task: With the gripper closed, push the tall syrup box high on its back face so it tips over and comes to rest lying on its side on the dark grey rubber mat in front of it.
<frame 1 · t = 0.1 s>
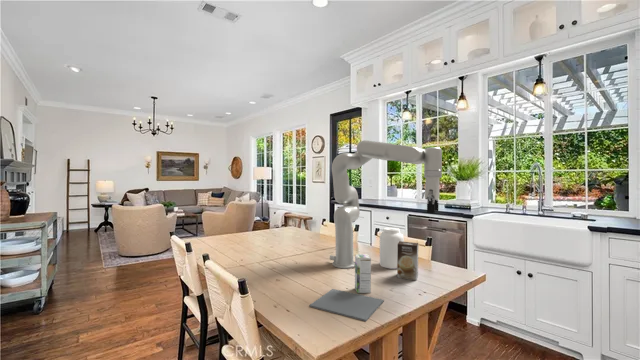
hand: (432, 212, 135), 31 cm above the table, tool pointing down, fingers open, 9 cm apart
mat: (347, 303, 110), on the table
white bottle: (391, 265, 158), on the table
syrup box: (362, 291, 123), on the table
coffee box: (407, 277, 139), on the table
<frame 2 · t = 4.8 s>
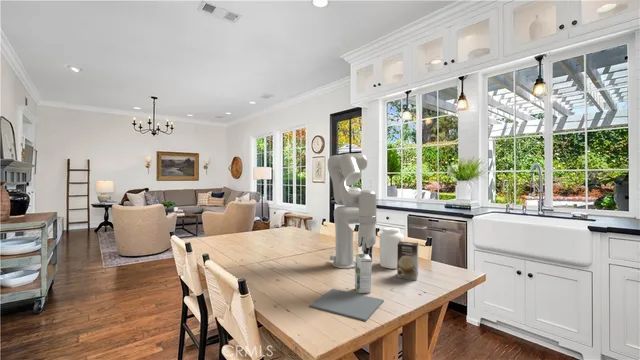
hand: (367, 262, 127), 10 cm above the table, tool pointing down, fingers closed
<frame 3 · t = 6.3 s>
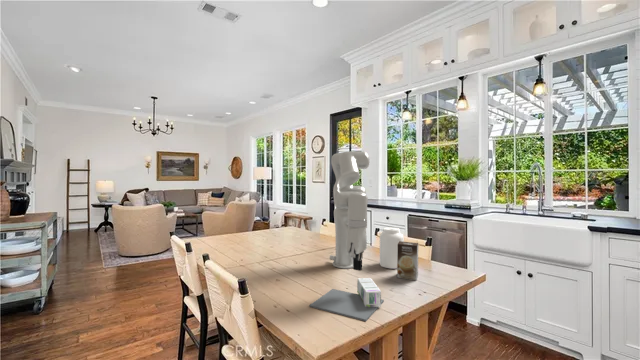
hand: (357, 269, 118), 10 cm above the table, tool pointing down, fingers closed
syrup box: (364, 284, 120), point 3 cm above the table, touching mat
everything else where it was.
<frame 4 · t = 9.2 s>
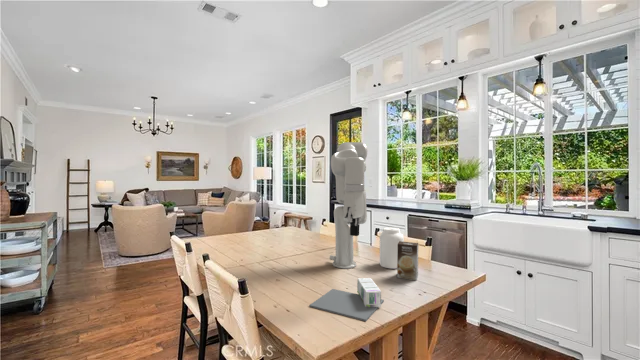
hand: (354, 235, 116), 24 cm above the table, tool pointing down, fingers closed
nothing on the table moved.
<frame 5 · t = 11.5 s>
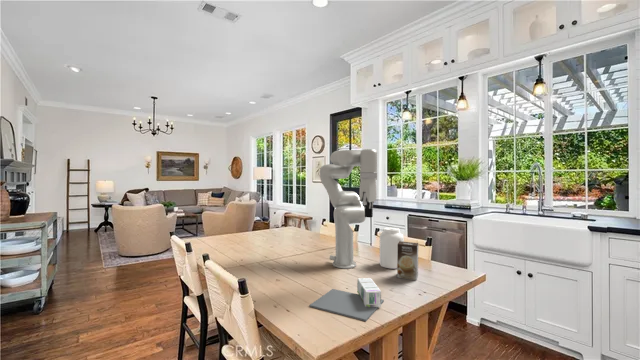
hand: (368, 217, 134), 29 cm above the table, tool pointing down, fingers closed
nothing on the table moved.
at the end: syrup box tilted 90°; syrup box touching mat; syrup box inside the target area (7.1 cm from its centre), point 3.5 cm above the table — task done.
